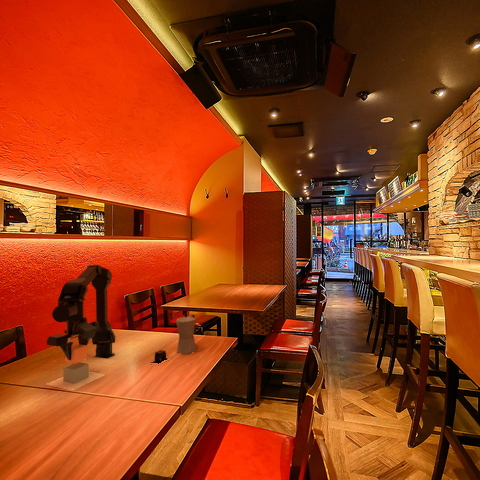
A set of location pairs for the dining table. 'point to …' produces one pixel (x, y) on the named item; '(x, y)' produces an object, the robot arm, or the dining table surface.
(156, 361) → the dark piece
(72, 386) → the base plate
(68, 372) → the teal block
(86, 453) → the dining table surface
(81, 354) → the orange block
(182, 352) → the coffeepot
